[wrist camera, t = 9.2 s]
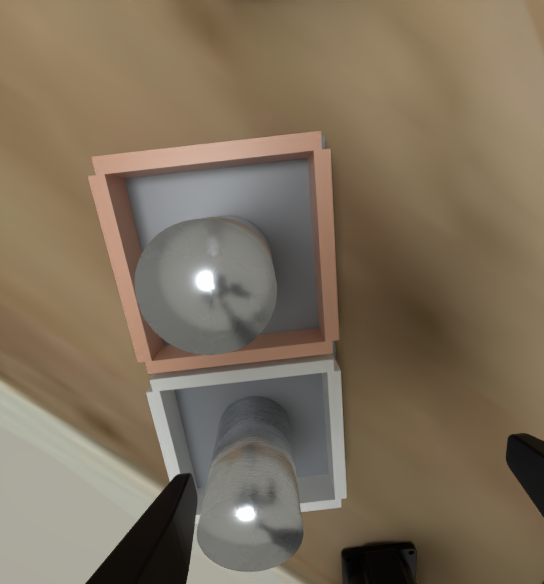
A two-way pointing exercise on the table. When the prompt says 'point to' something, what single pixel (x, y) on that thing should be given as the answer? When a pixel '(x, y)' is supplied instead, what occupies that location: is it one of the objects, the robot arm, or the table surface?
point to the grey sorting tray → (288, 309)
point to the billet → (251, 489)
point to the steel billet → (207, 284)
